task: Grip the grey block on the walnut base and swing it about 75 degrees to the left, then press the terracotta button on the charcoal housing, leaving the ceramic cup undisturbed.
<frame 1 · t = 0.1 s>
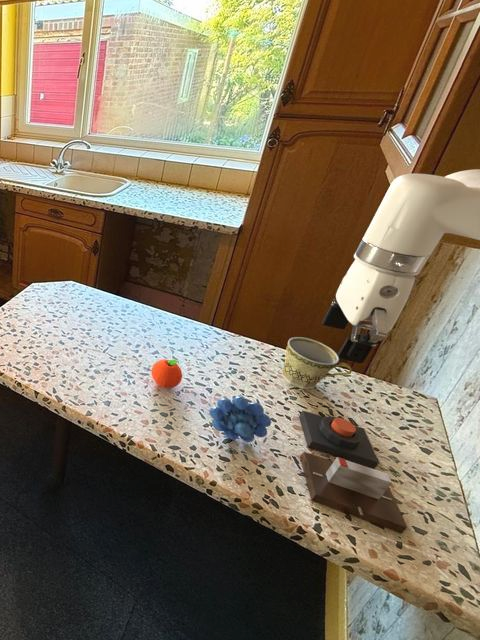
hand: (340, 342, 69), 30 cm above the countertop, tool pointing down, fingers open, 9 cm apart
ceramic cup: (303, 383, 102), on the countertop
clementine: (164, 383, 102), on the countertop
grey block: (357, 477, 75), point 5 cm above the countertop, hinge at 0.0°
button box: (333, 441, 87), on the countertop
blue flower: (231, 442, 87), on the countertop
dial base: (346, 492, 77), on the countertop
button: (343, 427, 85), point 4 cm above the countertop, slide at 0.1 cm
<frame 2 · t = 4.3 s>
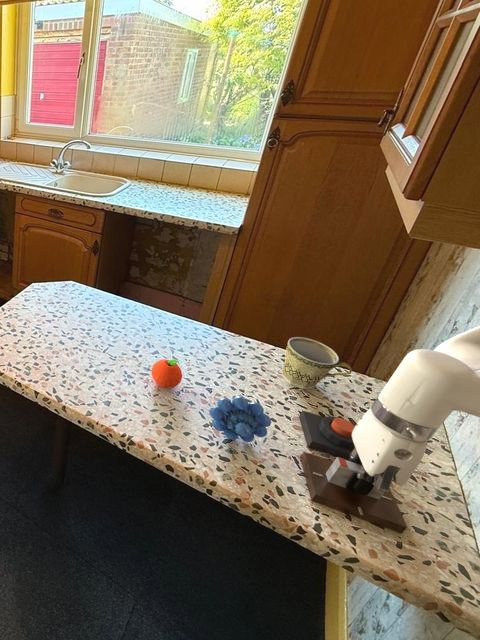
hand: (353, 483, 75), 3 cm above the countertop, tool pointing down, fingers closed on grey block, 2 cm apart
grey block: (357, 477, 75), point 5 cm above the countertop, hinge at 0.0°, touching gripper
everything else where it was.
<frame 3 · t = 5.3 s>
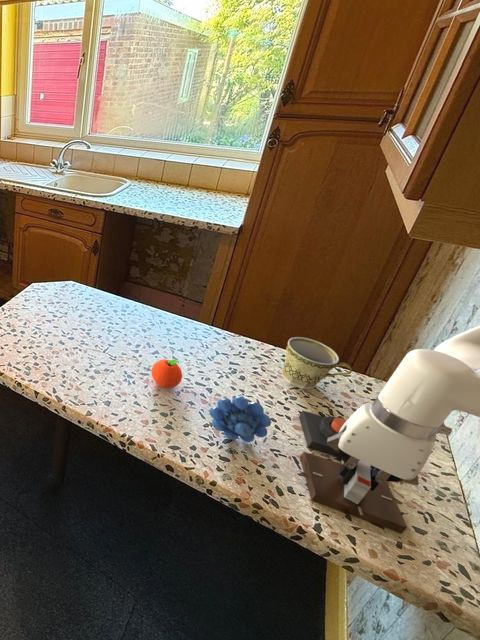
hand: (353, 482, 75), 3 cm above the countertop, tool pointing down, fingers closed on grey block, 2 cm apart
grey block: (357, 477, 75), point 5 cm above the countertop, hinge at 75.0°, touching gripper
everything else where it was.
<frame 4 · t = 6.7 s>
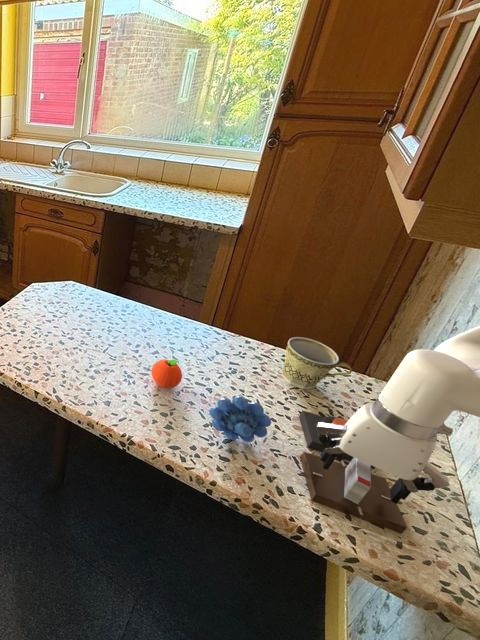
hand: (357, 479, 75), 4 cm above the countertop, tool pointing down, fingers open, 9 cm apart
grey block: (357, 477, 75), point 5 cm above the countertop, hinge at 75.0°
everything else where it was.
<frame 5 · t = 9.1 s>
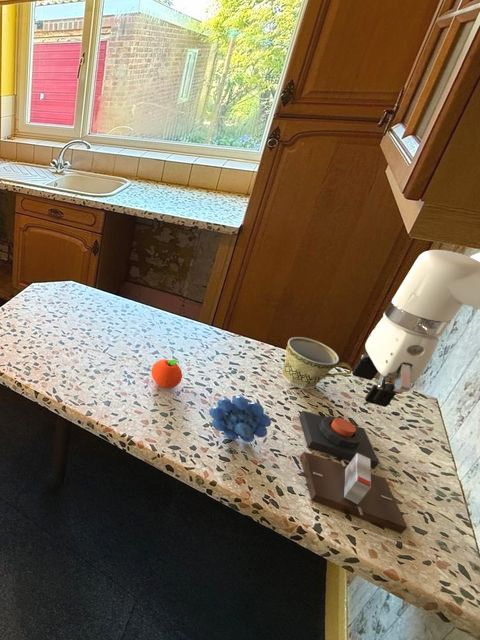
hand: (368, 389, 79), 16 cm above the countertop, tool pointing down, fingers open, 6 cm apart
nothing on the countertop moved.
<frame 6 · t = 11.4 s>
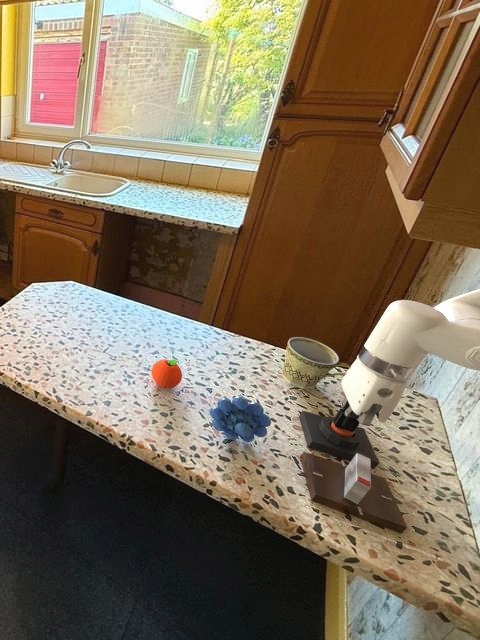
hand: (342, 426, 84), 5 cm above the countertop, tool pointing down, fingers closed
button: (341, 429, 85), point 4 cm above the countertop, slide at -0.6 cm, touching gripper
everything else where it was.
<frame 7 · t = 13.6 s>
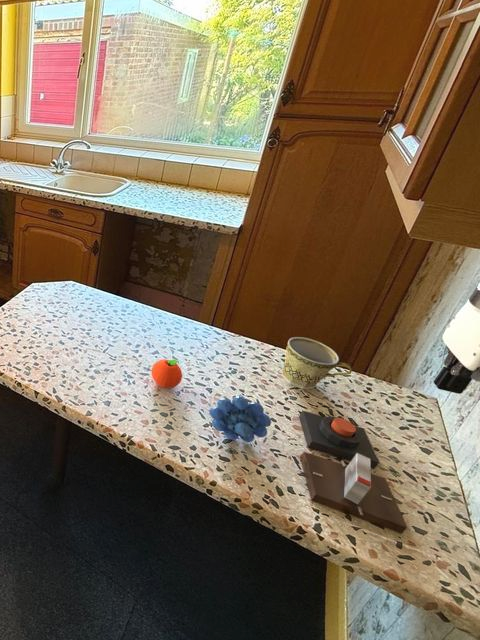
hand: (446, 388, 72), 21 cm above the countertop, tool pointing down, fingers closed
button: (343, 427, 85), point 4 cm above the countertop, slide at 0.1 cm
everything else where it was.
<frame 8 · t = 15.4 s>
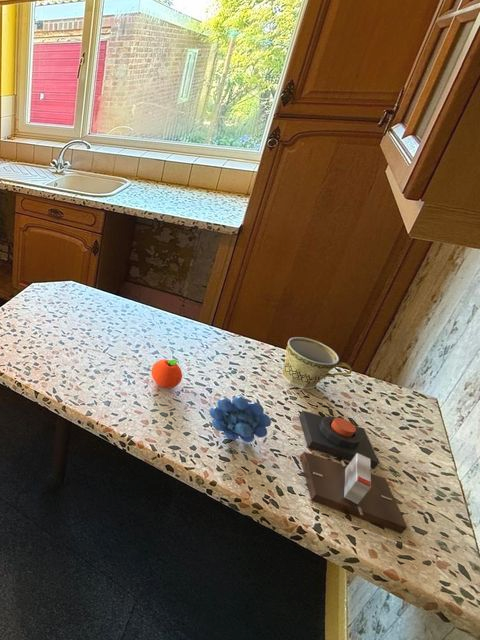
nothing on the countertop moved.
at the end: grey block at +75° (first picture: +0°); button pushed in 1.1 cm at the most during the clip, back to where it started at the end; ceramic cup moved 0.2 cm from its start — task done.
